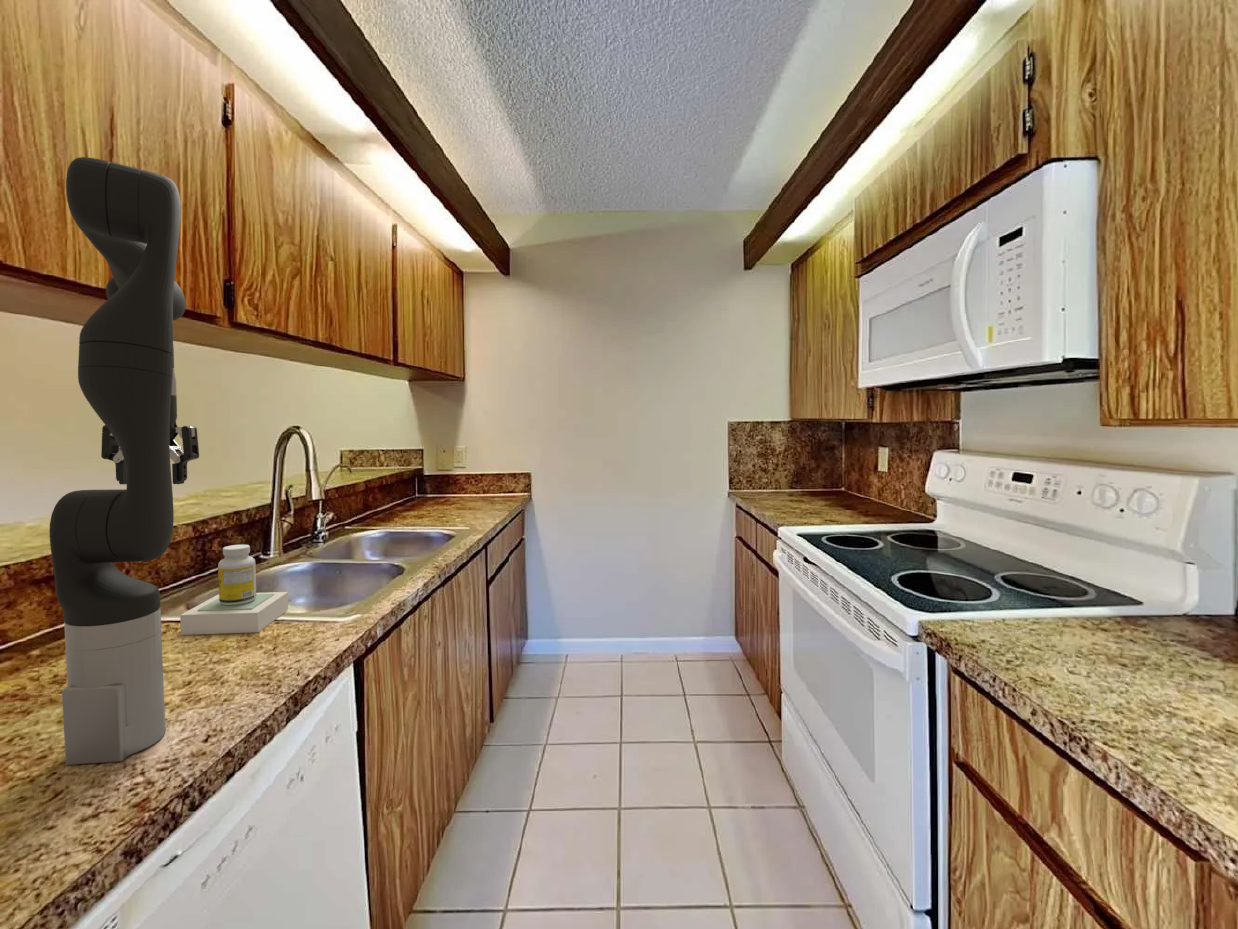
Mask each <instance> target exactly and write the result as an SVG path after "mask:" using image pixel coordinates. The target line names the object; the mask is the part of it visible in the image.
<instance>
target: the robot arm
mask: <svg viewBox="0 0 1238 929" xmlns="http://www.w3.org/2000/svg"><path fill="white" fill-rule="evenodd" d="M66 171H67V172H66V177H65V178H66V180H65V192H66V200H67V205H68V209H69V211H70V214H71V217H72V218H73V220H74V222H75V224H76V225H77V227H78V228H79V230H80V231H81V232H82V234H84V236H85V237H86V238H87V239H88V240H89V242H90V243H91V244H92V246H94V248H95V249H96V250H97V251H98V252H99V253H100V254H101V256H103V258H104V260H105V261H106V262H107V264H108V266H109V270H110V273H111V275H112V277H111V278H110V279H109V280H108V281H107V284H106V287H105V292H106V293H105V294H106V298H107V300H106V301H104V303H102V304H101V305H100V306H99V307H98V308H97V309H96V311H94V313H93V314H91V316H90V317H88V320H87V321H85V323H84V325H83V326H82V327H81V330H80V333H79V337H78V339H79V341H78V344H79V345H78V360H77V361H78V362H77V363H78V366H77V380H78V385H79V387H80V390H81V392H82V394H83V396H84V397H85V399H86V401H87V402H88V403H89V405H90V407H91V408H92V409H93V411H94V412H95V414H96V415H97V417H99V419H100V421H101V422H102V423H103V424H104V425H102V428H101V459H103V460H108V461H111V462H113V463H114V464H115V480H116V481H117V482H118V484H119V485H126V488H125V489H121V488H120V489H80V490H74V491H69V492H67V493H66V494H64V495H63V496H62V497H61V498H60V499H58V501H57V502H56V504H55V506H54V507H53V509H52V512H51V516H50V521H49V546H50V547H49V548H50V554H51V560H52V561H51V562H52V568H53V573H54V574H53V575H54V576H53V577H54V585H55V593H56V594H55V595H56V598H57V602H58V603H59V606H60V607H61V609H62V612H63V622H64V623H63V625H64V645H65V646H64V647H65V666H66V667H65V668H66V684H67V685H66V687H64V689H62V692H61V701H62V718H63V722H62V723H63V734H64V735H63V736H64V737H63V738H64V757H65V758H64V759H65V765H66V766H67V765H68V766H69V765H80V764H81V765H82V764H97V763H111V762H114V763H115V762H122V761H123V760H125V759H126V758H128V757H129V756H131V755H134V754H136V753H138V752H140V751H143V750H145V749H148V748H149V747H150V746H151V747H152V745H154V744H155V743H157V742H158V741H159V740H161V739H162V738H163V736H164V735H165V734H166V712H165V711H166V710H165V709H166V708H165V689H164V688H165V687H164V686H165V684H164V668H163V667H164V663H163V644H162V643H163V642H162V641H163V637H162V611H161V609H162V608H161V591H160V590H159V588H158V586H156V585H154V584H152V583H151V582H147V581H144V580H141V579H140V580H139V579H136V578H134V577H132V576H130V575H129V576H128V575H127V574H125V573H123V572H122V571H120V570H119V569H118V568H117V567H116V566H115V563H129V562H130V563H133V562H147V561H148V562H149V561H154V560H157V559H159V558H160V557H162V556H163V555H164V554H165V553H166V551H167V550H168V548H169V545H170V543H171V540H172V536H173V530H174V519H175V518H174V517H175V516H174V513H175V512H174V511H175V510H174V496H173V493H174V492H173V485H181V484H184V483H185V481H187V479H188V463H189V462H191V461H193V460H198V459H199V458H200V449H199V438H198V428H197V427H196V426H195V425H193V426H192V425H182V426H178V425H177V418H178V400H177V398H178V395H177V379H176V374H175V351H174V350H175V349H174V321H176V320H178V319H180V318H181V317H182V316H183V315H184V314H185V311H186V305H187V304H186V299H185V295H184V292H183V290H182V289H181V287H180V285H179V284H178V283H177V282H176V281H175V278H176V269H177V260H178V259H177V258H178V251H179V250H178V249H179V241H180V231H181V230H180V229H181V220H182V219H181V218H182V206H181V205H182V204H181V195H180V191H179V189H178V186H177V185H176V182H175V181H173V180H172V178H170V177H168V176H165V175H163V174H159V173H156V172H153V171H148V170H147V169H146V170H144V169H141V168H136V167H133V166H129V165H126V164H121V163H117V162H113V161H107V160H106V159H105V160H104V159H101V158H96V157H95V158H94V157H87V156H86V157H85V156H82V157H81V156H80V157H76V158H75V159H73V160H72V161H71V162H70V163H69V166H68V168H67V170H66ZM178 435H179V437H180V438H181V439H182V441H181V442H182V446H181V445H180V444H179V443H178V442H177V441H176V440H175V438H176V437H177V436H178ZM182 449H183V450H182ZM171 461H172V462H173V463H172V464H171ZM171 468H172V469H171Z"/></svg>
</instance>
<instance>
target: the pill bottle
mask: <svg viewBox="0 0 1238 929" xmlns="http://www.w3.org/2000/svg"><path fill="white" fill-rule="evenodd" d="M250 553H251V546H250V545H249V544H234V545H233V544H232V545H227V546H224V547H222V555H223V556H224V558H222V559H221V560H220V561H219V562H218V563H217V564H218V565H217V570H218V572H217V574H218V576H217V577H218V594H219V601H220V603H221V604H223V605H240V604H245V603H248V602H251V601H253V600H254V599H255V598H256V593H257V576H256V574H257V572H256V568H257V566H256V559H255V558H254V557H252V556H251V555H250Z"/></svg>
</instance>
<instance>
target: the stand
mask: <svg viewBox="0 0 1238 929" xmlns="http://www.w3.org/2000/svg"><path fill="white" fill-rule="evenodd" d="M288 610H289V591H276V592H274V591H273V592H272V591H270V592H256V598H255V599H254V600H253V601H251V602H248V603H245V604H240V605H223V604H221V603H220V601H219V593H218V594H217V595H215V596H212V597H210V598H209V599H207V600H205V601H203V602H202V603H200V604H197V605H196V606H194V607H192V608H190V609H189V610H187V611H184V613H183V612H182V614H180V620H179V621H180V635H181V636H191V635H192V636H193V635H217V634H238V633H239V634H242V633H243V634H247V633H259V632H261V631H262V630H264V629H265V628H266V627H267V626H268V625H270V624H271V623H273V622H274V621H275V620H277V619H278V618H279V617H280V616H282V615H283V614H284V613H286V612H287V611H288Z"/></svg>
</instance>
